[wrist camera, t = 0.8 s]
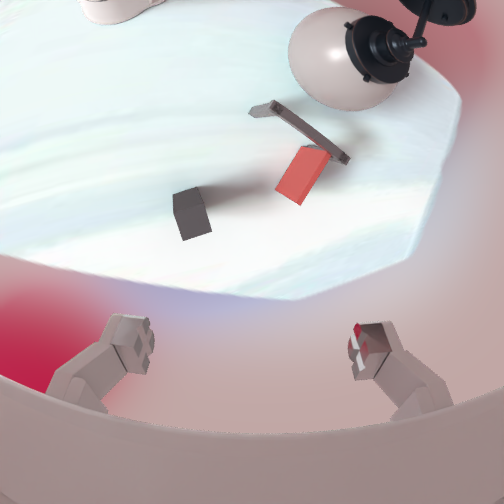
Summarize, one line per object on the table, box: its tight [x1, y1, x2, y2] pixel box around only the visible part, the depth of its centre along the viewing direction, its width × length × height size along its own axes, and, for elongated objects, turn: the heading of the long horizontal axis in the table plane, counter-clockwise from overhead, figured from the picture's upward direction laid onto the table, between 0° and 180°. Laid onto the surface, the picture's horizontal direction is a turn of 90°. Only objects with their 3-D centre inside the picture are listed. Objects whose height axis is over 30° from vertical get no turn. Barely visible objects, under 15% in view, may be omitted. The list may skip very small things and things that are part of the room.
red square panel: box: [275, 146, 331, 206], centre depth 49 cm, size 10×1×10 cm, turn 148°
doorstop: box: [173, 187, 212, 241], centre depth 46 cm, size 4×4×12 cm
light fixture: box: [288, 0, 476, 111], centre depth 31 cm, size 20×23×33 cm
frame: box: [248, 100, 350, 165], centre depth 45 cm, size 16×2×12 cm, turn 58°
